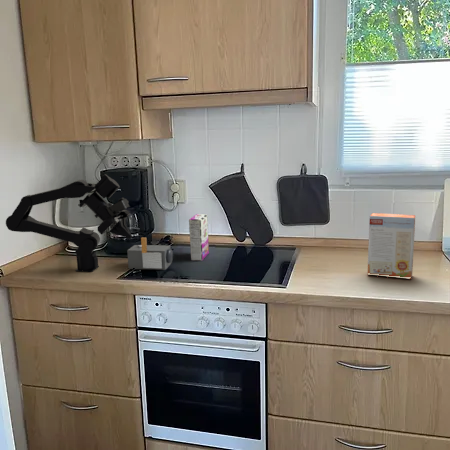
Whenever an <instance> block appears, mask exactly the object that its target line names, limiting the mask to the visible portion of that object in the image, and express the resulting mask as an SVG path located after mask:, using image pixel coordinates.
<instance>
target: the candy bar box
mask: <svg viewBox="0 0 450 450" xmlns="http://www.w3.org/2000/svg"><path fill="white" fill-rule="evenodd" d="M208 221H209V220H208V214H206V213H196V214H195V215H193V216H191V218H189V219H188V225H189V228H188V231H189V247H190V261H198V262H199V261H200V262H202V261H203V260H205V259H206V257H207V256H208V255H209V254H210V251H209V250H210V249H209V248H210V247H209V246H210V245H209V227H208V226H209V225H208Z"/></svg>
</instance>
